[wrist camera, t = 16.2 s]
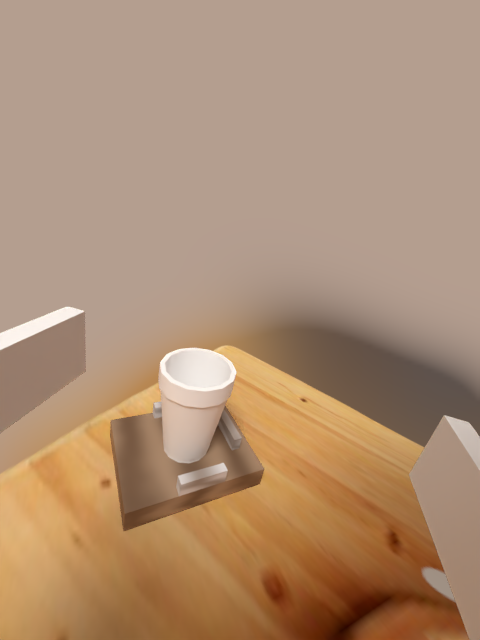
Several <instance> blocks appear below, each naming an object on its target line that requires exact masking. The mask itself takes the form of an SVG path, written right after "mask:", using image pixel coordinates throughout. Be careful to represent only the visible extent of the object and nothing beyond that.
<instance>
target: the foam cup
mask: <svg viewBox="0 0 480 640" xmlns="http://www.w3.org/2000/svg"><path fill="white" fill-rule="evenodd" d="M235 376H236V370H235V368H234V366H233V363H232V362H231V361H229V360H228V359H227V358H225V357H224V356H223V355H221V354H218V353H216V352H213V351H210V350H206V349H199V348H186V349H178V350H175V351H173V352H171V353H168V354H167V355H166V356H165V357H164V358H163V359H162V361H161V362H160V369H159V389H160V390H161V406H162V426H163V444H164V451H165V452H166V454H167V455H168V457H169V458H171V459H173V460H175V461H176V462H178V463H192V462H195V461H199V460H200V459H201V458H202V457H203V456H204V455H206V452H207V450H208V448H209V445H210V443H211V440H212V438H213V435H214V432H215V430H216V427H217V425H218V422H219V420H220V417H221V414H222V412H223V409H224V407H225V404H226V402H227V399H228V398H229V397H230V395H231V392H232V389H233V385H234V381H235Z"/></svg>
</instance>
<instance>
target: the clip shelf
mask: <svg viewBox="0 0 480 640" xmlns="http://www.w3.org/2000/svg"><path fill="white" fill-rule="evenodd" d="M110 437H111V444H112V451H113V458H114V466H115V473H116V480H117V487H118V494H119V501H120V509H121V516H122V523H123V530H124V531H126V530H128V529H131V528H134V527H137V526H140V525H143V524H146V523H149V522H151V521H154V520H157V519H160V518H163V517H166V516H169V515H172V514H174V513H177V512H180V511H183V510H186V509H189V508H192V507H195V506H197V505H200V504H203V503H206V502H209V501H212V500H215V499H218V498H220V497H223V496H226V495H229V494H232V493H235V492H238V491H241V490H243V489H246V488H249V487H252V486H255V485H258V484H260V481H261V478H262V474H263V471H264V468H263V466H262V464H261V463H260V461H259V460H258V458H257V456H256V455H255V453H254V452H253V450H252V448H251V447H250V445H249V443H248V442H247V440H246V439H245V437H244V435H243V434H242V432H241V431H240V429H239V427H238V426H237V424H236V422H235V421H234V419H233V418H232V416H231V414H230V413H229V411H228V409H227V408H226V406H225V407H224V409H223V412H222V414H221V417H220V420H219V422H218V425H217V427H216V430H215V432H214V435H213V438H212V440H211V443H210V445H209V448H208V450H207V452H206V455H204V456H203V457H202V458H201V459H200V460H199V461H195V462H192V463H178V462H176V461H175V460H173V459H171V458H169V457H168V455H167V454H166V452H165V451H164V444H163V426H162V406H161V402H156V403H154V405H153V413H150V414H144V415H138V416H132V417H127V418H121V419H115V420H111V430H110Z"/></svg>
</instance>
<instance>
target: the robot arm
mask: <svg viewBox="0 0 480 640" xmlns="http://www.w3.org/2000/svg"><path fill="white" fill-rule="evenodd" d="M85 362H86V361H85V311H82V310H78V309H75V308H72V307H68V306H67V307H64V308H62V309H59V310H57V311H54V312H52V313H49V314H47V315H45V316H42V317H39V318H37V319H34V320H32V321H29V322H27V323H24V324H22V325H19V326H17V327H14V328H12V329H10V330H7V331H5V332H2V333H0V433H1V432H3V431H4V430H5V429H7V428H8V427H10V426H11V425H12V424H14V423H15V422H17V421H18V420H19V419H21V418H22V417H23V416H25V415H26V414H28V413H29V412H30V411H32V410H33V409H34V408H35V407H37V406H39V405H40V404H41V403H43V402H44V401H46V400H47V399H48V398H50V397H51V396H52V395H54V394H55V393H57V392H58V391H59V390H60V389H62V388H63V387H65V386H66V385H68V384H69V383H70V382H72V381H73V380H74V379H76V378H77V377H79V376H80V375H81V374H83V373H84V372H85V371H86V369H85V368H86V363H85ZM409 477H410V479H411V482H412V485H413V487H414V490H415V493H416V496H417V498H418V501H419V504H420V506H421V509H422V512H423V515H424V517H425V520H426V523H427V525H428V528H429V531H430V534H431V536H432V539H433V542H434V544H435V547H436V550H437V553H438V555H439V558H440V561H441V563H442V566H443V569H444V572H445V574H446V577H447V580H448V582H449V585H450V588H451V590H452V593H453V596H454V599H455V601H456V604H457V607H458V610H459V612H460V615H461V618H462V620H463V623H464V626H465V629H466V631H467V634H468V637H469V639H470V640H480V437H479V435H478V434H477V433H476V431H475V430H474V429H473V427H472V426H471V425H470V423H469V422H465V421H462V420H458V419H455V418H452V417H448V416H443V418H442V420H441V421H440V423H439V425H438V426H437V428H436V430H435V432H434V433H433V435H432V437H431V439H430V440H429V442H428V443H427V445H426V447H425V448H424V450H423V452H422V453H421V455H420V457H419V458H418V460H417V462H416V463H415V465H414V467H413V468H412V470H411V472H410V474H409Z"/></svg>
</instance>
